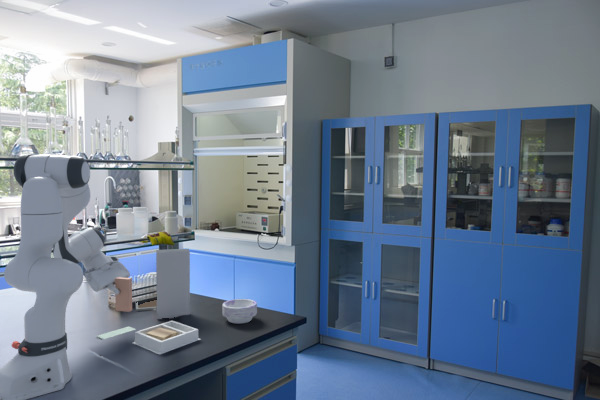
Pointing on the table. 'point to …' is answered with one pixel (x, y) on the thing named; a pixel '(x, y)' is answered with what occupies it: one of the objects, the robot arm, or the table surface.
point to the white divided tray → (157, 346)
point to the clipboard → (147, 306)
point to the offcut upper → (161, 334)
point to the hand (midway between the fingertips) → (121, 292)
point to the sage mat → (115, 332)
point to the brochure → (173, 283)
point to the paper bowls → (239, 310)
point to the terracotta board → (124, 294)
